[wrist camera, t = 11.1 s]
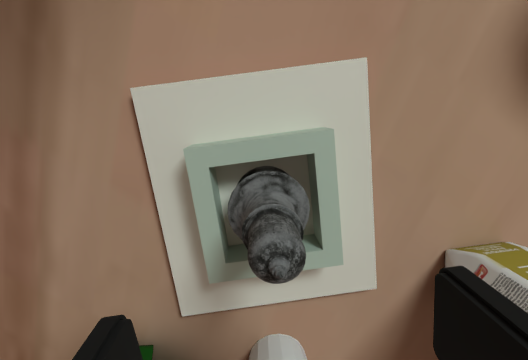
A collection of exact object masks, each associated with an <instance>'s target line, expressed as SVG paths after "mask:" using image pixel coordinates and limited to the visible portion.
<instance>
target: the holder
mask: <svg viewBox="0 0 528 360" xmlns="http://www.w3.org/2000/svg"><path fill="white" fill-rule="evenodd" d="M130 90H131V94H132V99H133V103H134V107H135V112H136V116H137V121H138V125H139V129H140V134H141V138H142V143H143V147H144V151H145V156H146V160H147V165H148V169H149V173H150V178H151V182H152V187H153V191H154V196H155V200H156V204H157V209H158V213H159V218H160V222H161V226H162V231H163V235H164V240H165V244H166V248H167V253H168V257H169V262H170V266H171V270H172V275H173V279H174V284H175V288H176V292H177V297H178V301H179V306H180V310H181V314H182V316H189V315H196V314H203V313H210V312H217V311H224V310H231V309H238V308H245V307H252V306H259V305H266V304H273V303H280V302H287V301H294V300H301V299H308V298H315V297H322V296H329V295H336V294H342V293H349V292H356V291H363V290H370V289H377V284H376V260H375V237H374V213H373V189H372V166H371V142H370V119H369V95H368V71H367V57H366V58H358V59H351V60H343V61H335V62H328V63H320V64H312V65H305V66H297V67H289V68H282V69H274V70H266V71H259V72H251V73H243V74H236V75H228V76H220V77H213V78H205V79H197V80H190V81H182V82H174V83H166V84H159V85H151V86H143V87H136V88H130ZM261 166H274V167H276V168H279V169H282V170H283V171H285V172H286V173H287V174H289V176H291V177H292V178H294V179H295V180H296V181H298V183H299V184H300V185H301V186H302V187H303V189H304V190H305V192H306V195H307V197H308V200H309V206H310V212H309V219H308V222H307V224H306V226H305V229H304V235H303V240H302V242H303V244H304V247H305V251H306V261H305V265H304V268H303V270H302V271H301V273H300V274H299V275H298V276H297V277H296V278H294V279H293V280H291V281H289V282H286V283H281V284H271V283H268V282H265V281H263V280H261V279H259V278H258V277H257V276H256V275H255V274H254V273H253V271H252V269H251V268H250V265H249V262H248V250H247V248H246V247H245V245H244V243H243V241H242V240H241V239H240V238H239V237H238V236H237V235H236V234H235V233H234V231H233V229H232V227H231V225H230V223H229V218H228V214H227V213H228V202H229V199H230V196H231V193H232V192H233V190H234V189H235V187H236V186H237V184H238V182H239V181H240V179H241V178H242V176H243V175H245V174H246V173H247V172H248V171H250V170H252V169H254V168H256V167H261Z"/></svg>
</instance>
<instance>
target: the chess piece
mask: <svg viewBox="0 0 528 360" xmlns="http://www.w3.org/2000/svg"><path fill="white" fill-rule="evenodd" d="M309 212H310V206H309V200H308V197H307V195H306V192H305V190H304V189H303V187H302V186H301V185H300V184H299V183H298V181H296V180H295V179H294V178H292V177H291V176H289V174H287V173H286V172H285V171H283V170H282V169H279V168H276V167H274V166H261V167H256V168H254V169H252V170H250V171H248V172H247V173H246V174H245V175H243V176H242V178H241V179H240V181H239V182H238V184H237V186H236V187H235V189H234V190H233V192H232V193H231V196H230V199H229V202H228V213H227V214H228V218H229V223H230V225H231V227H232V229H233V231H234V233H235V234H236V235H237V236H238V237H239V238H240V239H241V240H242V241H243V243H244V245H245V247H246V248H247V250H248V262H249V265H250V268H251V269H252V271H253V273H254V274H255V275H256V276H257V277H258V278H259V279H261V280H263V281H265V282H268V283H271V284H281V283H286V282H289V281H291V280H293V279H294V278H296V277H297V276H298V275H299V274H300V273H301V271H302V270H303V268H304V265H305V261H306V251H305V247H304V244H303V242H302V240H303V235H304V229H305V226H306V224H307V222H308V219H309Z"/></svg>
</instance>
